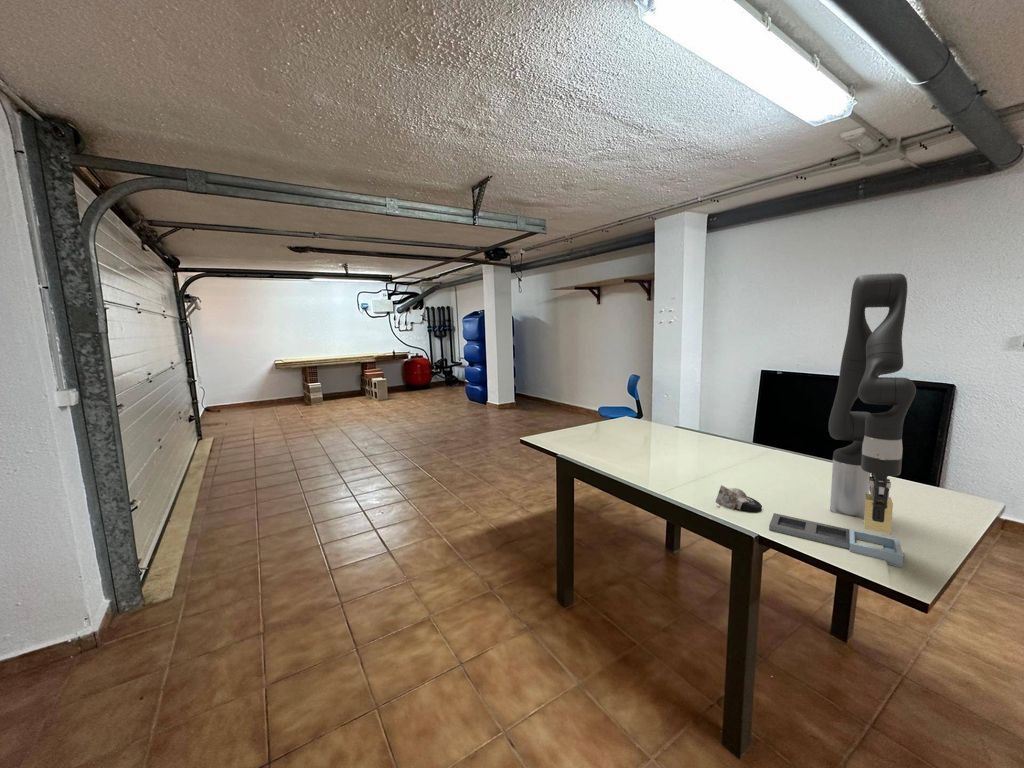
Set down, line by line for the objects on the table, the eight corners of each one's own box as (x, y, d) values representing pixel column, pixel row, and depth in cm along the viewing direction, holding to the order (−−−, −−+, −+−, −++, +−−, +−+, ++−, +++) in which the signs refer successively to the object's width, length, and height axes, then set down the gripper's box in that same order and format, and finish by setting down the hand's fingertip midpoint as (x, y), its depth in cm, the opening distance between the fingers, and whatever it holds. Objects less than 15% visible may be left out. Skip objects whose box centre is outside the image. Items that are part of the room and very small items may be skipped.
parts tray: (848, 539, 111) (849, 528, 111) (898, 550, 105) (898, 539, 104) (849, 554, 104) (849, 543, 103) (902, 567, 97) (903, 555, 97)
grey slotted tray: (773, 520, 123) (773, 513, 123) (848, 537, 112) (849, 529, 112) (768, 533, 116) (769, 525, 116) (849, 552, 104) (849, 543, 104)
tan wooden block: (863, 521, 107) (865, 493, 106) (888, 526, 103) (890, 497, 103) (864, 528, 103) (866, 499, 102) (890, 534, 100) (892, 503, 99)
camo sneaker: (762, 518, 130) (744, 521, 126) (731, 500, 140) (714, 502, 135) (769, 501, 129) (751, 503, 124) (738, 483, 139) (720, 484, 134)
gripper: (861, 446, 109) (857, 504, 111) (863, 458, 98) (859, 523, 100) (898, 450, 104) (894, 511, 106) (905, 463, 93) (900, 532, 95)
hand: (877, 517), depth 103 cm, fingers closed on tan wooden block, 5 cm apart
